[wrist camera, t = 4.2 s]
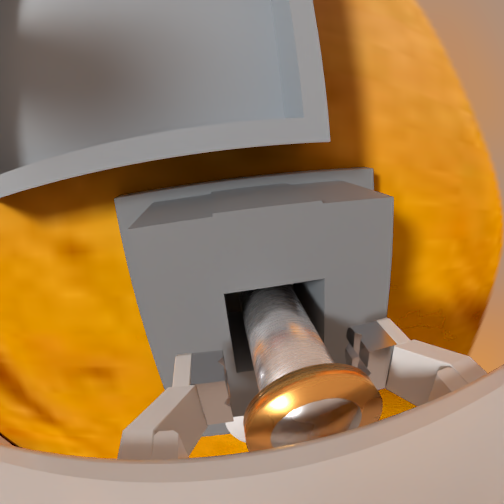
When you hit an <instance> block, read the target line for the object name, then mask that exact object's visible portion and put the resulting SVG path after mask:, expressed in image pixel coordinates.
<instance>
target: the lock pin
mask: <svg viewBox="0 0 504 504" xmlns="http://www.w3.org/2000/svg"><path fill="white" fill-rule="evenodd" d="M238 297H239V301H240V306H241V311H242V316H243V320H244V325H245V330H246V334H247V339H248V343H249V348H250V353H251V357H252V362H253V366H254V371H255V375H256V380H257V384H258V389H259V393H258V394H257V395H256V396H255V397H254V398H253V399H252V401H251V402H250V403H249V405H248V407H247V409H246V411H245V414H244V419H243V426H244V433H245V439H246V445H247V448H248V450H249V452H252V451H258V450H264V449H270V448H276V447H281V446H286V445H291V444H296V443H300V442H305V441H309V440H314V439H318V438H322V437H326V436H330V435H333V434H337V433H341V432H344V431H348V430H351V429H355V428H358V427H361V426H364V425H368V424H371V423H374V422H377V421H378V420H379V418H380V416H381V413H382V407H383V406H382V398H381V395H380V394H379V392H378V390H377V389H376V387H375V386H374V384H373V383H372V381H371V379H370V378H369V377H368V376H367V374H366V373H365V372H363V371H362V370H360V369H358V368H356V367H354V366H351V365H347V364H341V363H335V362H334V361H333V359H332V357H331V355H330V354H329V352H328V350H327V348H326V346H325V345H324V343H323V341H322V339H321V338H320V336H319V334H318V332H317V331H316V329H315V327H314V325H313V324H312V322H311V320H310V318H309V317H308V315H307V313H306V311H305V310H304V308H303V306H302V304H301V303H300V301H299V299H298V297H297V296H296V294H295V292H294V290H293V289H292V287H291V285H290V284H287V285H280V286H274V287H267V288H261V289H254V290H247V291H240V292H238Z"/></svg>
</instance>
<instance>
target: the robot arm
mask: <svg viewBox="0 0 504 504" xmlns="http://www.w3.org/2000/svg"><path fill="white" fill-rule="evenodd" d="M346 338H347V340H348V341H349V344H348V346H347V347H346V348H345V358H346V364H347V365H351V366H354V367H356V368H358V369H360V370H362V371H363V372H365V373H366V374H367V376H368V377H369V378H370V379H371V381H372V383H373V384H374V386H375V387H376V389H377V390H379V389H383V388H386V389H387V390H389V391H391V392H392V393H394V394H396V395H398V396H400V397H401V398H403V399H405V400H407V401H409V402H410V403H412V404H414V405H416V406H418V407H415V408H413V409H410V410H407V411H405V412H402V413H399V414H397V415H394V416H391V417H388V418H386V419H383V420H380V421H377V422H374V423H371V424H368V425H364V426H361V427H358V428H355V429H351V430H348V431H344V432H341V433H337V434H333V435H330V436H326V437H322V438H318V439H314V440H309V441H305V442H300V443H296V444H291V445H286V446H281V447H276V448H270V449H264V450H258V451H252V452H245V453H238V454H230V455H221V456H212V457H200V458H189V457H188V456H189V455H190V453H191V452H192V450H193V449H194V447H195V445H196V444H197V442H198V441H199V439H200V438H201V436H202V435H203V433H204V431H205V430H206V428H207V427H208V426H207V425H212V424H219V423H226V422H233V421H234V419H233V411H232V404H231V399H230V398H231V395H230V387H229V381H228V375H227V370H226V368H225V360H224V355H223V351H222V350H217V351H208V352H198V353H188V354H179V355H177V356H176V357H175V366H174V375H173V385H172V387H168V388H167V389H166V390H165V391H164V392H163V393H162V394H161V395H160V396H159V397H158V398H157V399H156V400H155V401H154V402H153V403H152V404H150V405H149V406H148V407H147V408H146V409H145V410H144V411H143V412H142V413H141V414H140V415H139V416H138V417H137V418H136V419H135V420H134V421H133V422H132V423H131V424H130V425H129V426H128V427H126V428H125V429H124V430H123V434H122V438H121V443H120V448H119V453H118V458H117V459H106V458H92V457H80V456H71V455H63V454H55V453H48V452H42V451H36V450H30V449H25V448H20V447H15V446H13V445H12V444H10V443H9V442H8V441H6V440H5V439H4V438H2V437H1V436H0V504H504V365H502V366H500V367H499V368H497V369H495V370H493V371H491V372H489V373H486V371H485V370H483V369H482V368H481V367H480V366H479V365H478V364H477V363H476V362H475V361H474V360H473V359H472V358H471V357H470V356H467V355H463V354H460V353H457V352H453V351H450V350H447V349H443V348H440V347H437V346H434V345H430V344H427V343H424V342H421V341H418V340H415V339H414V340H410V339H409V338H408V337H407V336H406V335H405V334H404V333H403V332H402V331H401V330H400V329H399V328H398V327H397V326H396V325H395V324H394V323H393V322H392V320H391V319H389V318H387V317H386V318H383V319H379V320H376V321H374V322H370V323H366V324H362V325H357V326H353V327H349V328H348V329H347V334H346Z"/></svg>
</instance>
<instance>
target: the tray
mask: <svg viewBox="0 0 504 504" xmlns="http://www.w3.org/2000/svg"><path fill="white" fill-rule="evenodd" d="M315 142H331V141H330V128H329V117H328V107H327V97H326V88H325V80H324V71H323V64H322V56H321V49H320V42H319V36H318V29H317V23H316V17H315V11H314V5H313V0H0V198H1V197H4V196H7V195H10V194H14V193H17V192H20V191H24V190H27V189H31V188H34V187H38V186H41V185H45V184H49V183H52V182H56V181H60V180H64V179H68V178H72V177H76V176H80V175H84V174H89V173H93V172H98V171H102V170H107V169H112V168H116V167H121V166H126V165H132V164H137V163H142V162H148V161H153V160H159V159H165V158H171V157H178V156H184V155H191V154H198V153H206V152H213V151H221V150H230V149H239V148H248V147H259V146H270V145H283V144H297V143H315Z"/></svg>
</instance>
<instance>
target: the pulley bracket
mask: <svg viewBox="0 0 504 504" xmlns="http://www.w3.org/2000/svg"><path fill="white" fill-rule="evenodd" d="M114 202H115V208H116V213H117V218H118V223H119V228H120V233H121V238H122V243H123V247H124V252H125V256H126V260H127V265H128V269H129V273H130V277H131V281H132V285H133V289H134V293H135V296H136V300H137V304H138V307H139V311H140V314H141V318H142V321H143V325H144V328H145V331H146V335H147V338H148V341H149V344H150V347H151V351H152V354H153V357H154V360H155V363H156V366H157V369H158V372H159V374H160V377H161V380H162V383H163V386H164V388H165V390H166V389H167V388H168V387H172V385H173V375H174V366H175V357H176V356H177V355H179V354H188V353H198V352H208V351H217V350H222V351H223V355H224V360H225V368H226V370H227V375H228V381H229V387H230V395H231V398H230V399H231V404H232V411H233V419H234V421H233V422H226V423H219V424H212V425H207V426H208V427H207V428H206V430H205V431H204V433H203V435H202V436H213V435H222V434H230V433H231V434H232V435H233V436H234V437H236V438H237V439H239V440H241V441H243V442H246V439H245V433H244V426H243V419H244V414H245V411H246V409H247V407H248V405H249V403H250V402H251V401H252V399H253V398H254V397H255V396H256V395H257V394H258V393H259V389H258V384H257V380H256V375H255V371H254V366H253V362H252V357H251V353H250V348H249V343H248V339H247V334H246V330H245V325H244V320H243V316H242V311H241V306H240V301H239V297H238V292H240V291H247V290H254V289H261V288H267V287H274V286H280V285H287V284H290V285H291V287H292V289H293V290H294V292H295V294H296V296H297V297H298V299H299V301H300V303H301V304H302V306H303V308H304V310H305V311H306V313H307V315H308V317H309V318H310V320H311V322H312V324H313V325H314V327H315V329H316V331H317V332H318V334H319V336H320V338H321V339H322V341H323V343H324V345H325V346H326V348H327V350H328V352H329V354H330V355H331V357H332V359H333V361H334V362H335V363H341V364H346V358H345V348H346V347H347V346H348V344H349V341H348V340H347V338H346V334H347V329H348V328H349V327H353V326H357V325H362V324H366V323H370V322H374V321H376V320H379V319H383V318H386V317H387V308H388V299H389V288H390V276H391V262H392V244H393V210H394V197H392V196H389V195H386V194H383V193H380V192H377V191H374V178H373V169H372V168H367V167H355V168H338V169H323V170H309V171H297V172H286V173H275V174H265V175H256V176H247V177H238V178H230V179H222V180H214V181H207V182H199V183H192V184H185V185H179V186H172V187H166V188H160V189H154V190H148V191H142V192H136V193H130V194H125V195H120V196H118V197H116V198H114ZM202 436H201V437H202Z"/></svg>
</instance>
